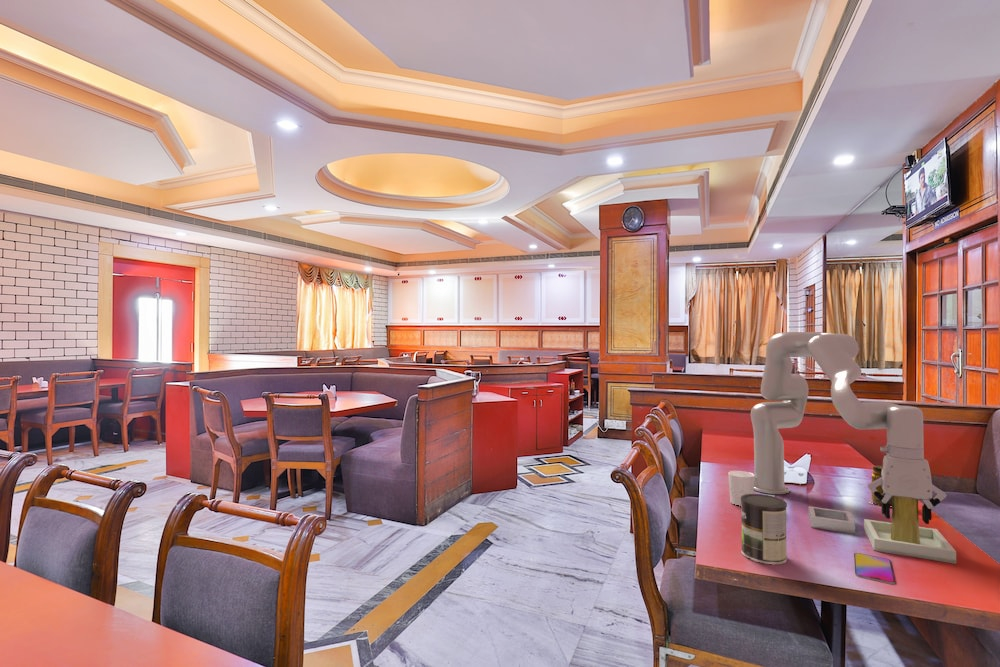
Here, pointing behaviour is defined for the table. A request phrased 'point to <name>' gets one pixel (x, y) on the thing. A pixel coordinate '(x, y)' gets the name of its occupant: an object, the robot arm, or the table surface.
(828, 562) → the table surface
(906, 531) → the vase
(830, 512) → the white square dish
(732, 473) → the white cup
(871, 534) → the beige tray
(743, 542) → the coffee can
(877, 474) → the condiment
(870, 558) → the smartphone
